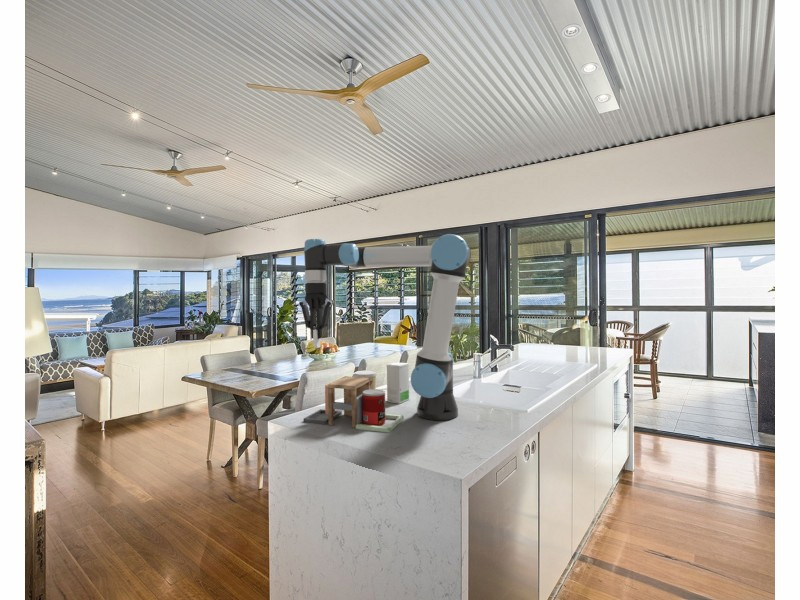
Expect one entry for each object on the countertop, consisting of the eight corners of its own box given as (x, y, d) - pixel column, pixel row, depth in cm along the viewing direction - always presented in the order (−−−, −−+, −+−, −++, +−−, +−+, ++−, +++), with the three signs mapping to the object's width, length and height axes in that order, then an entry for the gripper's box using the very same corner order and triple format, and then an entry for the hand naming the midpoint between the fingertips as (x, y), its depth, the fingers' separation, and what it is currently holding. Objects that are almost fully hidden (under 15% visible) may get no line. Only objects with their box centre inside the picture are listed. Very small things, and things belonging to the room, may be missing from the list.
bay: (403, 418, 150) (403, 415, 150) (389, 432, 136) (389, 428, 136) (372, 415, 154) (372, 412, 153) (355, 428, 139) (355, 425, 139)
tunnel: (370, 416, 153) (369, 377, 153) (355, 428, 140) (354, 385, 140) (345, 414, 156) (345, 376, 156) (328, 425, 143) (328, 384, 143)
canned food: (382, 427, 141) (382, 394, 141) (359, 426, 142) (359, 393, 142) (387, 420, 148) (387, 389, 148) (365, 419, 150) (365, 388, 150)
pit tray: (341, 414, 156) (341, 411, 156) (326, 424, 144) (326, 420, 144) (320, 412, 158) (320, 409, 158) (303, 422, 147) (303, 418, 147)
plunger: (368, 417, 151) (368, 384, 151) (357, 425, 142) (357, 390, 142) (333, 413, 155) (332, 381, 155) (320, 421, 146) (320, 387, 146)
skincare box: (399, 404, 169) (399, 365, 168) (385, 402, 172) (385, 364, 172) (410, 399, 176) (409, 362, 176) (396, 397, 179) (396, 361, 179)
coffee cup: (351, 403, 171) (350, 374, 171) (358, 397, 180) (358, 369, 180) (373, 404, 169) (372, 375, 168) (379, 398, 178) (378, 370, 178)
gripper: (336, 282, 152) (338, 346, 153) (305, 282, 156) (306, 345, 157) (326, 281, 145) (328, 349, 146) (294, 282, 149) (295, 348, 150)
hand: (317, 347), depth 151 cm, fingers closed
